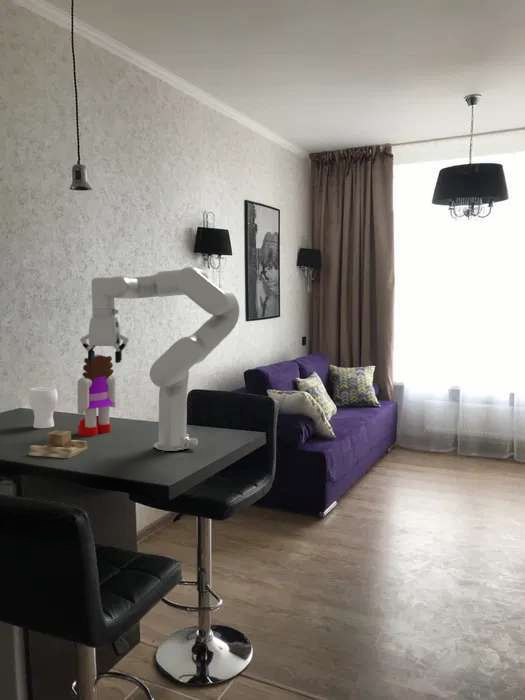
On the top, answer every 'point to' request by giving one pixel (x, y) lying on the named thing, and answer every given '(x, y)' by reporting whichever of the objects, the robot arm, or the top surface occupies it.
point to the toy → (96, 396)
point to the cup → (43, 406)
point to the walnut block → (59, 439)
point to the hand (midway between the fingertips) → (105, 362)
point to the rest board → (59, 450)
